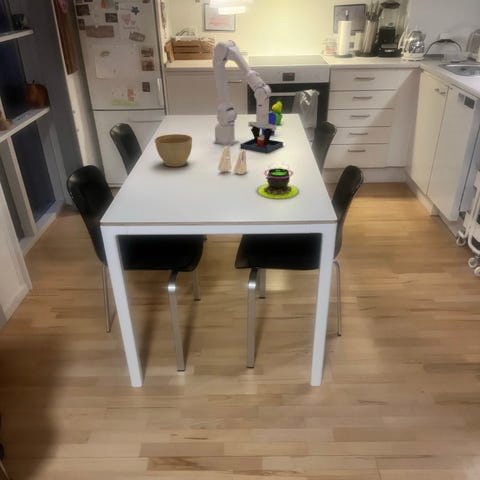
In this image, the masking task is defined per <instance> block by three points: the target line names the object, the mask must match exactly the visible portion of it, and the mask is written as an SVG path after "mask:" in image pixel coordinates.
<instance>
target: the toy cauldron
mask: <svg viewBox="0 0 480 480" xmlns="http://www.w3.org/2000/svg"><path fill="white" fill-rule="evenodd" d="M272 165H273V164H270V165H268V169H266V170H264V171H263V175H264V176H266V177H265V179H266V182H267V184H264V185H262V186H260V187H259V188H258V193H259V195H260V196H263V197H265V198H269V199H275V200H276V199H277V200H278V199H282V200H283V199H289V198H292V197H295V196H296V195H297V194H298V189H297V188H296V187H295V186H292V185H289V183H290V181H291V180H290V179H291V177H292V176H294V174H295V173H294V171H292V170H290V169H289V168H290V167H289V164H285V162H283V163H282V165H284V166H288V167H287V168H283V167H282V166H280V167H279V168H278V167H274V168H271V167H270V166H272Z"/></svg>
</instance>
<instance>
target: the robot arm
mask: <svg viewBox="0 0 480 480" xmlns="http://www.w3.org/2000/svg"><path fill="white" fill-rule="evenodd" d="M228 61H232V62H234V63H235V64H236V66H237V67H238V68H239V69H240V70H241V72H242V73H243V74H244V76H245V81H246V83H247V84H248V85H249V87H250V88H251V90H252V91H253V92H254V98H255V100H256V115H255V121H248V126H247V127H249V128H250V131H251V133H252V135H253V139H255V143H256V144H257V136H259V135H261V128H262V129H266V130H264V131H263V132H264V138H265V142H264V143H265V145H268V142H269V140H271V139H270V138H271V136H272V135H271V134H272V132H273V131H275V132H276V131H277V128H278V127H277V126H278V125H271V124H268V119H269V112H270V97H271V96H272V88H271V86H270V85H268V84H266V82H265V81H263V79H262V78H261V77H260V73H259V72H258V71H256V70H252V69H251V66H250V65H249V64H248V62H247V61H246V59H245V57H244V56H243V54H242V52H241V51H240V48H239V46H238V45H237V44H236V42H235V41H234V40H232V39H231V40H230V39H229V40H225V41H219V42H217V44H215V46H214V48H213V57H212V62H211V63H212V69H213V75H214V81H215V87H216V91H217V97H218V103H219V104H218V106H217V109H216V111H217V115H216V120H217V122H218V123H216V124H215V127H214V144H219V145H225V146H231V145H234V144H237V143H238V142H239V140H236V139H235V138H236V136H235V132H236V131H235V130H236V129H235V125H236V124H235V121H236V120H237V118H238V113H237V110H236V109H235V105H234V103H233V102H232V101H231V96H230V89H229V83H228V77H227V72H226V67H225V66H226V64H227V63H228Z"/></svg>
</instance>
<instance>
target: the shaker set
mask: <svg viewBox="0 0 480 480" xmlns="http://www.w3.org/2000/svg"><path fill="white" fill-rule="evenodd" d="M217 170H218V171H220V172H223V173H228V172H229V171H230V170H232V157H231V147H230V145H225V146H224V147H223V149H222V153H221V156H220V159H219V163H218V166H217ZM247 170H248V168H247V153H246V149H240V151H239V153H238V156H237V158H236V162H235V166H234V168H233V171H232V173H234V174H238V175H244V174H246V173H247V172H248V171H247Z"/></svg>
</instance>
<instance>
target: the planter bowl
mask: <svg viewBox="0 0 480 480" xmlns="http://www.w3.org/2000/svg"><path fill="white" fill-rule="evenodd" d="M154 143H155V148H156V151H157V155H159V157H160V159H161V160H162V161H163V163H164V165H165V166H166V167H171V168H174V167H176V168H177V167H183V166H185V165H186V164H187V160H188V159H189V158H190V156H191V152H192V147H193V137H192V136H191V135H188V134H183V133H182V134H181V133H175V134H174V133H172V134H163V135H159V136H157V137H155V138H154Z"/></svg>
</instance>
